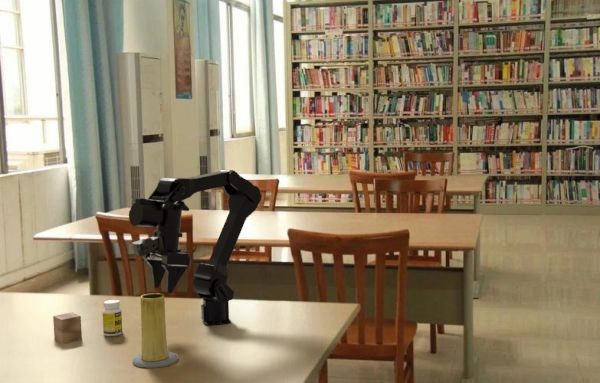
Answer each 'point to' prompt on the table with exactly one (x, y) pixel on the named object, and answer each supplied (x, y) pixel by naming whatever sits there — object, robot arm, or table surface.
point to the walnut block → (67, 327)
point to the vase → (153, 328)
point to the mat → (168, 361)
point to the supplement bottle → (112, 318)
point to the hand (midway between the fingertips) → (162, 290)
